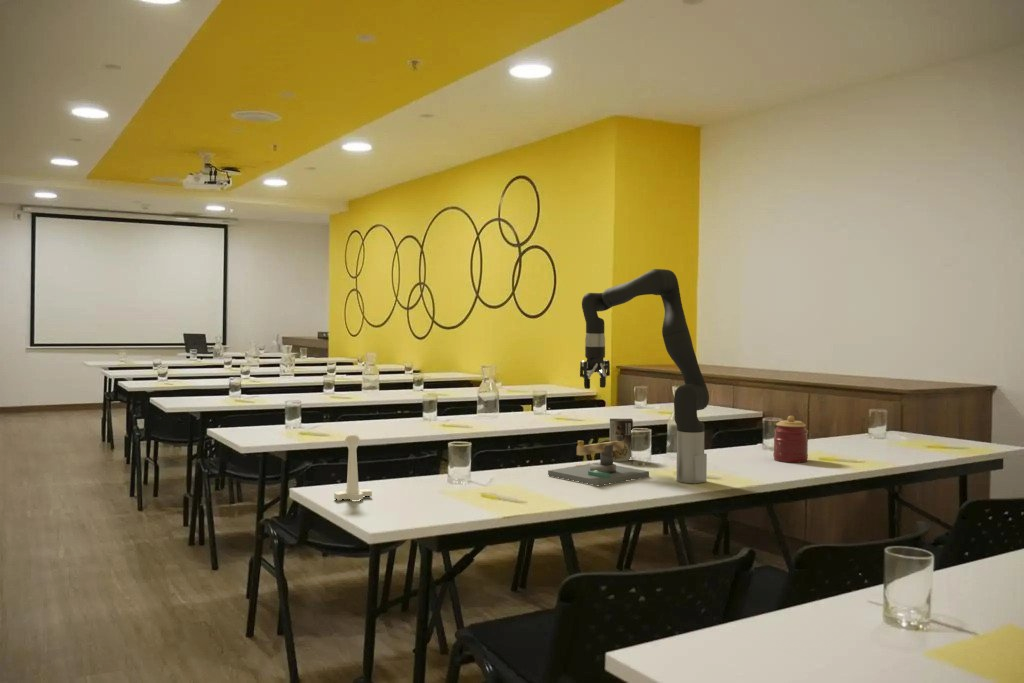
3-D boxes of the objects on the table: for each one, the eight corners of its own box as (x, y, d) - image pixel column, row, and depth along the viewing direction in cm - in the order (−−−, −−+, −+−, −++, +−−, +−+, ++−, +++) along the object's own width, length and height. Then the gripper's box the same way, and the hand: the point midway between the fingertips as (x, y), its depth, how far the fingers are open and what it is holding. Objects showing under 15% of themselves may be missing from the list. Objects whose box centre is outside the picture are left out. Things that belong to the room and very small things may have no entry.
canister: (812, 463, 329) (813, 417, 328) (778, 463, 329) (779, 417, 328) (801, 457, 342) (802, 413, 341) (769, 457, 342) (769, 413, 341)
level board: (648, 476, 299) (649, 466, 299) (597, 486, 282) (597, 475, 282) (598, 467, 317) (599, 457, 317) (548, 476, 300) (548, 465, 300)
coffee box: (632, 459, 337) (632, 418, 337) (633, 461, 331) (633, 420, 330) (609, 458, 338) (609, 418, 338) (609, 461, 332) (609, 420, 331)
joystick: (367, 495, 267) (367, 431, 266) (375, 500, 260) (375, 434, 260) (332, 499, 262) (332, 434, 261) (340, 503, 255) (340, 437, 254)
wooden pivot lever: (612, 465, 308) (612, 434, 308) (631, 469, 301) (631, 436, 301) (569, 473, 294) (569, 439, 294) (588, 476, 287) (588, 442, 287)
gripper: (589, 346, 316) (589, 389, 317) (615, 345, 326) (614, 387, 326) (575, 345, 322) (574, 388, 322) (600, 344, 332) (600, 386, 332)
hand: (595, 388), depth 324 cm, fingers open, 8 cm apart
